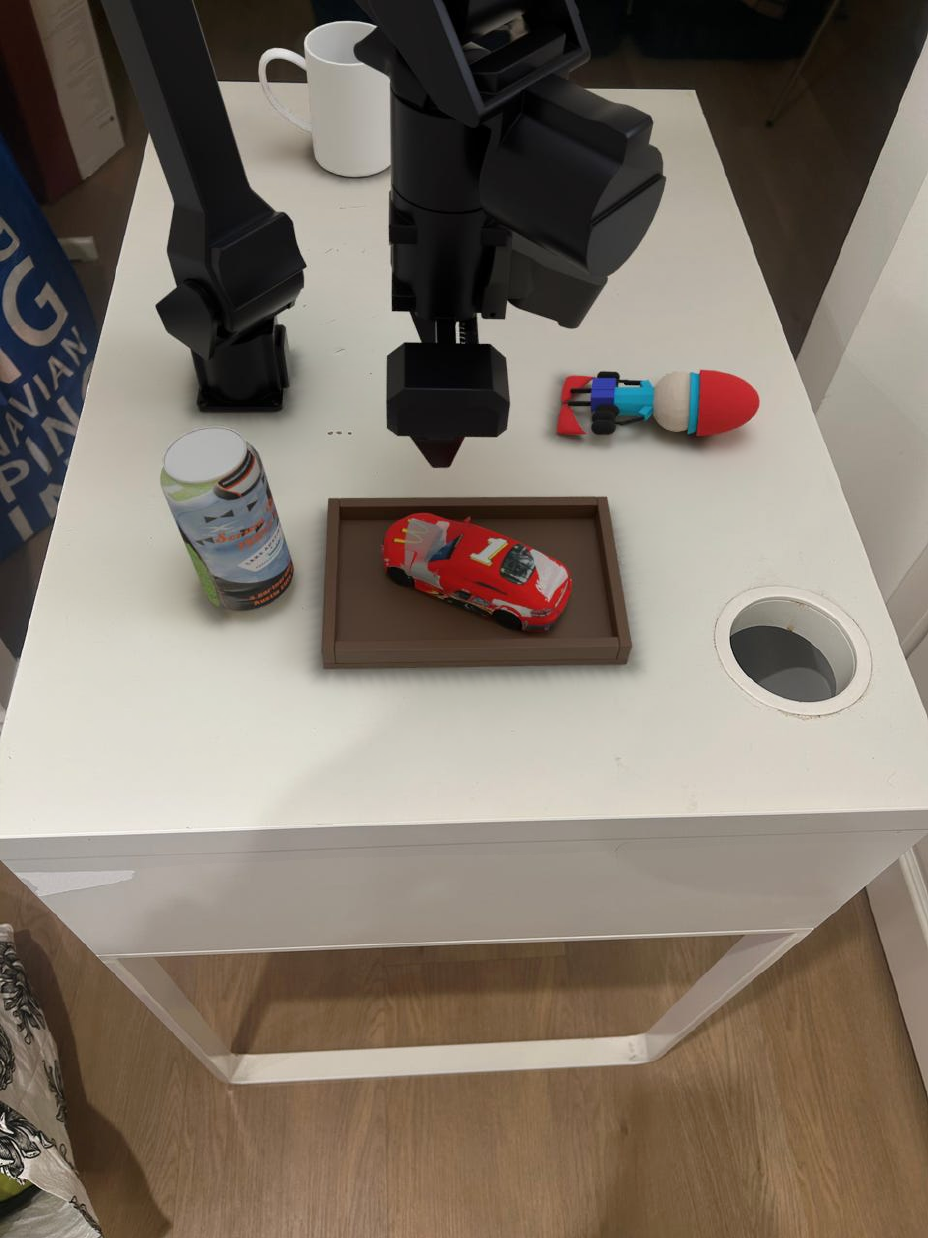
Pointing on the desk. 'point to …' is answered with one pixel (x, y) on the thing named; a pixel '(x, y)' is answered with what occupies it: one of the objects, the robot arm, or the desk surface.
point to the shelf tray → (447, 633)
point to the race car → (477, 570)
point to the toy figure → (662, 402)
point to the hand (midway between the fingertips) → (439, 410)
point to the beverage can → (227, 517)
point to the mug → (340, 100)
